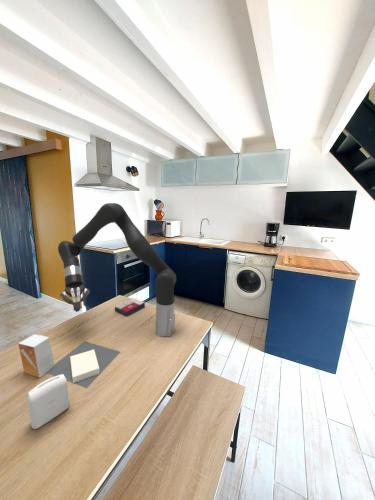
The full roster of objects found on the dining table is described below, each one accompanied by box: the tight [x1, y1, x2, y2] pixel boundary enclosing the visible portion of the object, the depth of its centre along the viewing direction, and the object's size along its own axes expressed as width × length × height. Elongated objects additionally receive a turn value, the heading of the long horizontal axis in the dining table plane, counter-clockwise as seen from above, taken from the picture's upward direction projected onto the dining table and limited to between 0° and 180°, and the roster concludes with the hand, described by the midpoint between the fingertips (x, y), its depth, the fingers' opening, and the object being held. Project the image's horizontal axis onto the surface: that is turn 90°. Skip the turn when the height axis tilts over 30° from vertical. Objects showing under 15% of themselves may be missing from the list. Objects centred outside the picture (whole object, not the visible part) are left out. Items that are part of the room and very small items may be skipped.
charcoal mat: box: [45, 340, 121, 389], centre depth 86 cm, size 20×20×1 cm
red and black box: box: [114, 297, 146, 318], centre depth 131 cm, size 11×4×15 cm
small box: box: [17, 333, 55, 379], centre depth 79 cm, size 8×6×13 cm
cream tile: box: [70, 350, 99, 384], centre depth 83 cm, size 2×9×12 cm
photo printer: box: [26, 374, 70, 430], centre depth 63 cm, size 10×4×12 cm, turn 140°
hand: (77, 311), depth 94 cm, fingers closed
